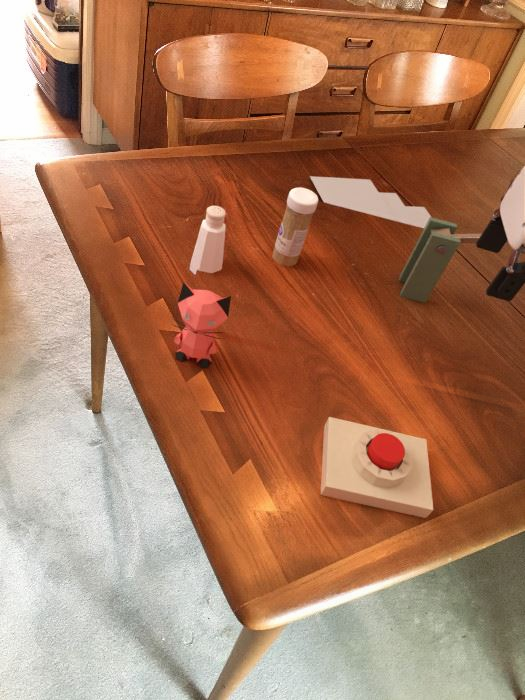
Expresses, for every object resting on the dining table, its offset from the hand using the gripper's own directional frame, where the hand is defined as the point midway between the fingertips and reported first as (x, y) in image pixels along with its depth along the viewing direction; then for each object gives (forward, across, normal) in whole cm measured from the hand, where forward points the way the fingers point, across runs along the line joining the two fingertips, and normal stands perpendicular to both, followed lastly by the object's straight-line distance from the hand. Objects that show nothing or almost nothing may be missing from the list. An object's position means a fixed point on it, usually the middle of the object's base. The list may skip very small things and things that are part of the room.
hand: (491, 271), depth 70 cm
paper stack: (+19, +38, +7) cm, 43 cm away
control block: (+19, -20, +8) cm, 29 cm away
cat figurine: (+20, -9, +33) cm, 40 cm away
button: (+16, -20, +8) cm, 27 cm away
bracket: (+19, +16, +2) cm, 25 cm away
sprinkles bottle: (+20, +15, +24) cm, 35 cm away
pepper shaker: (+20, +9, +36) cm, 42 cm away
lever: (+6, +16, -3) cm, 18 cm away
